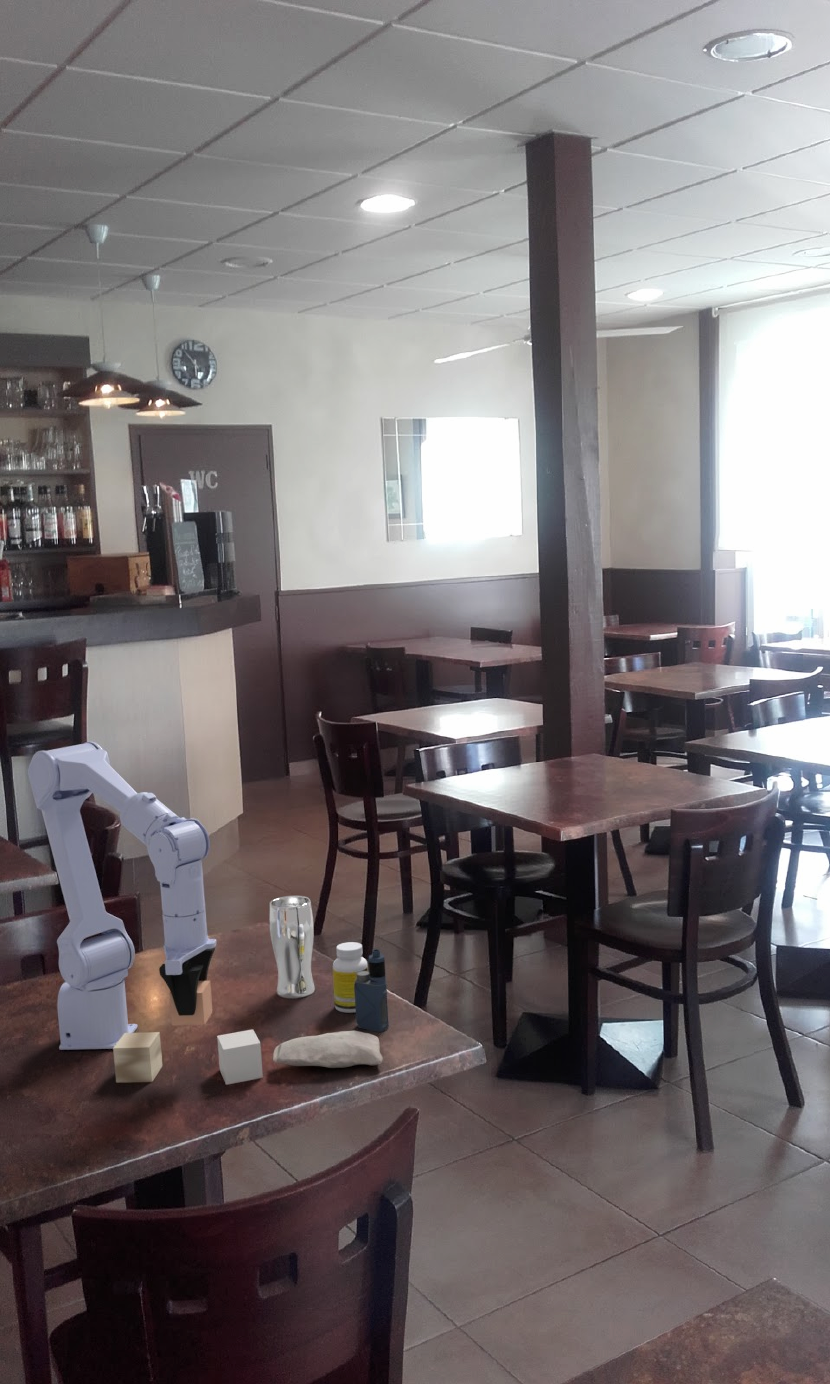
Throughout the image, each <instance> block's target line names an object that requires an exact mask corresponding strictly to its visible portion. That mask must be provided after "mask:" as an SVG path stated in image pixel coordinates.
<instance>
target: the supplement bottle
mask: <svg viewBox="0 0 830 1384" xmlns="http://www.w3.org/2000/svg"><path fill="white" fill-rule="evenodd" d="M335 947H336V950H335V951H336V957H337V958H336V959H335V960H334V961H333V963H332V978H333V981H332V983H333V1001H334V1008H335V1010H337V1011H338V1012H340V1013H345V1014H346V1013H349V1014H353V1013H354V1014H356V1009H355V992H354V984H355V980H356V979H357V975H356V973H357V972H360V971H368V972H369V964H368V961H367V959H366V958H364V957H363V944H361V943H360V942H356V941H355V942H353V941H351V942H350V941H349V942H348V941H347V942H342V943H339V944H337V946H335Z"/></svg>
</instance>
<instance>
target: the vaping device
mask: <svg viewBox="0 0 830 1384" xmlns="http://www.w3.org/2000/svg"><path fill="white" fill-rule="evenodd" d="M385 959H386V957H385V954H382V953H381V950H380V949H379V948H377V949H376V948H374V949H372V954H370V955H369V956H368V971H360V972H357V973H356V975H357V979H356V980H355V984H354V992H355V1009H356V1012H355V1021H356V1024H357V1027H358V1028H359V1029H362V1030H366V1031H371V1032H378V1033H382V1032H384V1031H386V1030H387V1029H389V1013H388V1011H389V1010H388V990H387V989H388V987H387V986H388V985H387V980H386V979H387V977H386V962H385Z"/></svg>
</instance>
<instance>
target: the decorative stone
mask: <svg viewBox="0 0 830 1384" xmlns="http://www.w3.org/2000/svg"><path fill="white" fill-rule="evenodd" d="M380 1048H381V1046H380V1041H379V1037H378V1036H376V1035H374V1034H371V1033H368V1032H362V1031H359V1030H343V1031H335V1032H327V1033H326V1032H325V1033H323V1034H319V1035H308V1036H301V1037H296V1038H291V1039H289V1040H287V1041H284V1042H282V1043H279V1045H277V1046H275V1048H274V1050H273V1056H272V1060H273V1063H277V1064H283V1065H289V1066H292V1067H323V1068H324V1067H325V1068H328V1069H336V1068H337V1069H339V1068H341V1069H342V1068H343V1069H344V1068H349V1067H352V1066H353V1067H354V1066H359V1065H368V1066H376V1065H377V1066H378V1065H381V1064H382V1063H383V1058H384V1057H383V1055H382V1053H381V1051H380Z"/></svg>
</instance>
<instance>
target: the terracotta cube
mask: <svg viewBox="0 0 830 1384" xmlns="http://www.w3.org/2000/svg"><path fill="white" fill-rule="evenodd" d="M211 986H212V985H211V980H207V981H198V986H197V1000H196V1009H195V1013H194V1015H183V1016H179V1014H178V1012H177V1009H176V1006H175V1003H174V1000H173V997H172V994H171V992H170V991H169V1007H170V1008H169V1009H170V1020H171V1026H172V1027H173V1026H205V1025H206V1023H207V1022H208V1020H209V1019H210V1016H211V1014H212V1013H213V1003H212V1001H213V1000H212V999H213V998H212V987H211Z"/></svg>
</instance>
